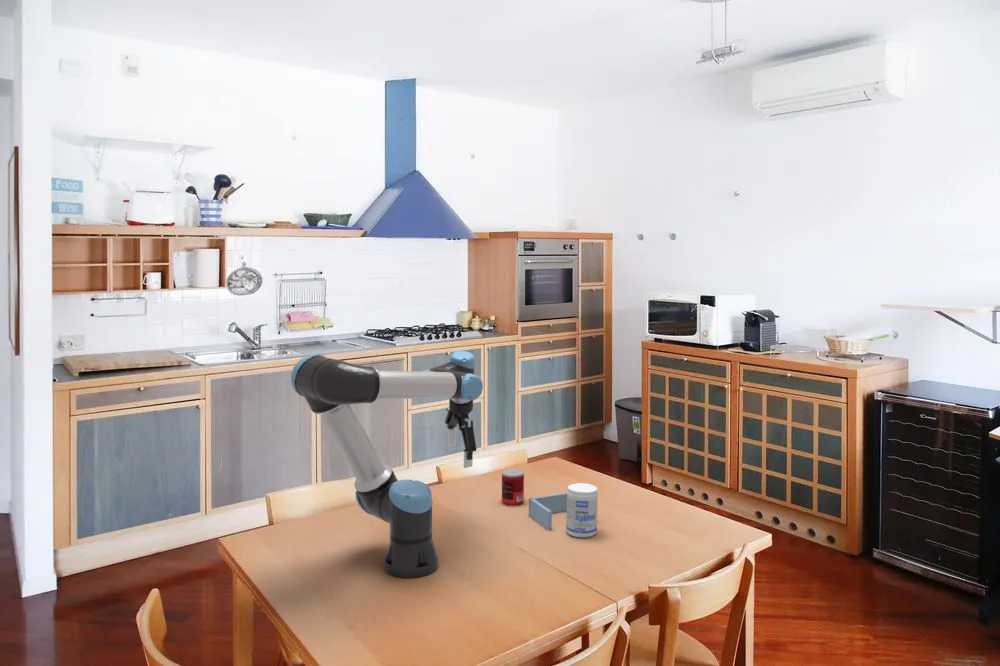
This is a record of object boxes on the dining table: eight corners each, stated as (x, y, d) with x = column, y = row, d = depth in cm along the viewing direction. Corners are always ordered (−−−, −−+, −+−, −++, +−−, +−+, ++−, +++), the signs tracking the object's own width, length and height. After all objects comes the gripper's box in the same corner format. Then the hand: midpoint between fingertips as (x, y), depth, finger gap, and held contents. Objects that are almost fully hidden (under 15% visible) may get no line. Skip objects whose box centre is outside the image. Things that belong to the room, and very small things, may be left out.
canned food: (524, 499, 266) (524, 469, 264) (522, 506, 258) (523, 475, 257) (503, 498, 266) (503, 468, 265) (500, 505, 259) (500, 475, 257)
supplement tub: (577, 540, 228) (577, 494, 226) (560, 530, 236) (560, 485, 235) (602, 535, 233) (603, 489, 231) (585, 525, 241) (586, 481, 239)
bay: (595, 522, 243) (596, 504, 243) (548, 530, 237) (548, 511, 236) (574, 508, 256) (574, 491, 256) (528, 515, 249) (528, 498, 249)
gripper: (488, 414, 228) (486, 473, 236) (457, 380, 248) (455, 435, 256) (466, 418, 224) (464, 478, 233) (435, 383, 245) (435, 439, 253)
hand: (459, 456), depth 244 cm, fingers open, 13 cm apart
